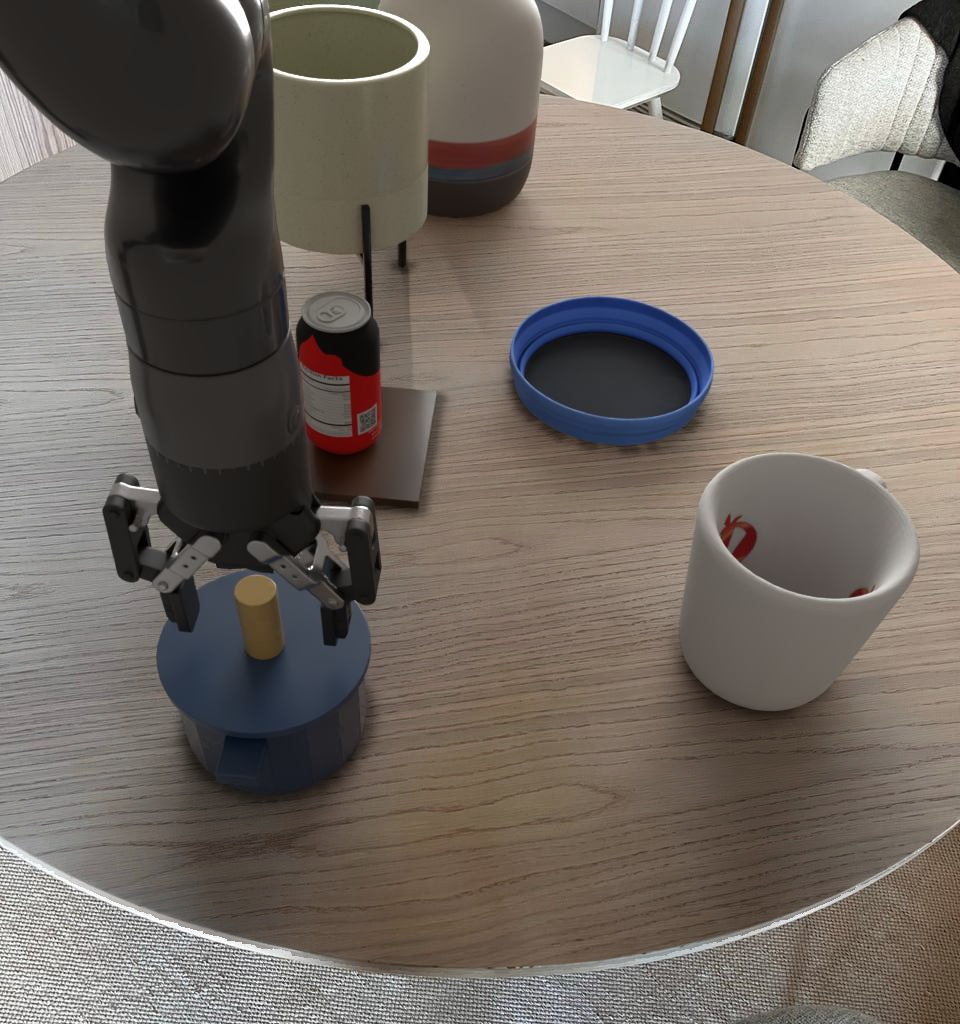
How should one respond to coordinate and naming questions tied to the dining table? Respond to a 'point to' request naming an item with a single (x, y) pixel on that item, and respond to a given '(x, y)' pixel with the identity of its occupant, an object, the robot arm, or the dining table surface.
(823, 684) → the cup
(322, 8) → the planter
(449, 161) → the vase
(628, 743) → the dining table surface
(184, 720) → the pot
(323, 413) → the beverage can
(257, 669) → the pot lid
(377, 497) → the trivet
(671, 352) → the bowl
